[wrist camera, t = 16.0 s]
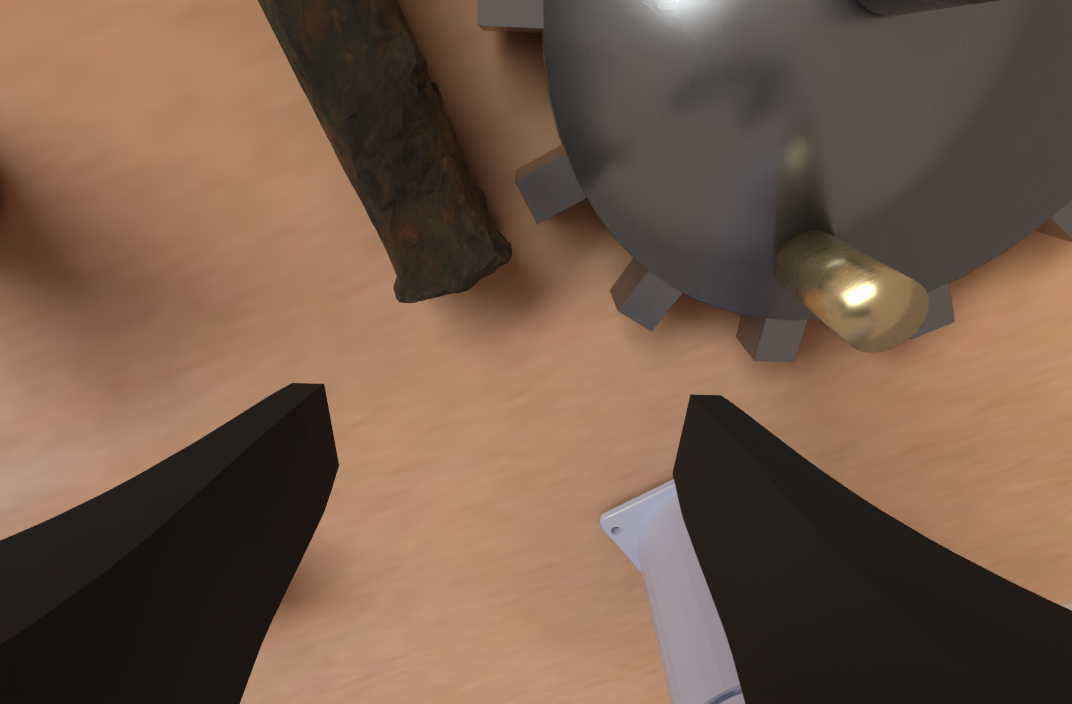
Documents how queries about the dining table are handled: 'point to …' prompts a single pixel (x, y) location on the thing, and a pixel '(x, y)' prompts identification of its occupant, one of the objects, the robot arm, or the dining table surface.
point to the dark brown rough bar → (391, 140)
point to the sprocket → (803, 152)
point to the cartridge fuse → (913, 5)
